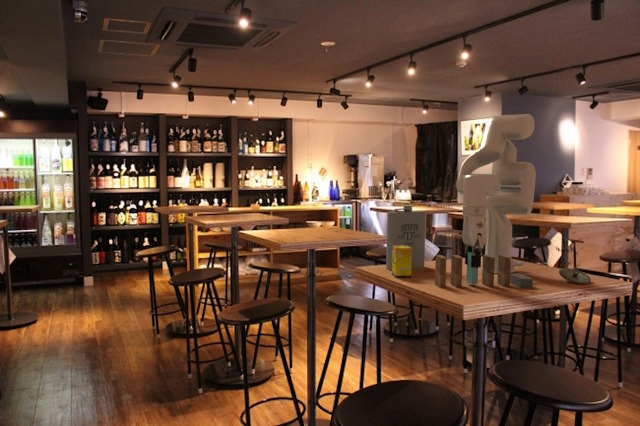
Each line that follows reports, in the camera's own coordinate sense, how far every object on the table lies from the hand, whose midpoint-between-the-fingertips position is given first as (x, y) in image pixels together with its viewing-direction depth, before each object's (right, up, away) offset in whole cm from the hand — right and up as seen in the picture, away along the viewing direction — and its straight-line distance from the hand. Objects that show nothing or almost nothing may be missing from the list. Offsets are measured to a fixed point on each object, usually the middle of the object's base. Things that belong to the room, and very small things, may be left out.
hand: (472, 265), depth 177 cm
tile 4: (+5, -7, +1) cm, 9 cm away
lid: (+38, -7, +8) cm, 40 cm away
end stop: (+17, -7, +2) cm, 18 cm away
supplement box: (-22, -6, +16) cm, 27 cm away
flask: (-17, -4, +32) cm, 37 cm away
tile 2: (-6, -7, 0) cm, 9 cm away
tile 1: (-11, -7, -1) cm, 13 cm away
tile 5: (+11, -7, +2) cm, 13 cm away
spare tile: (0, -6, 0) cm, 6 cm away
